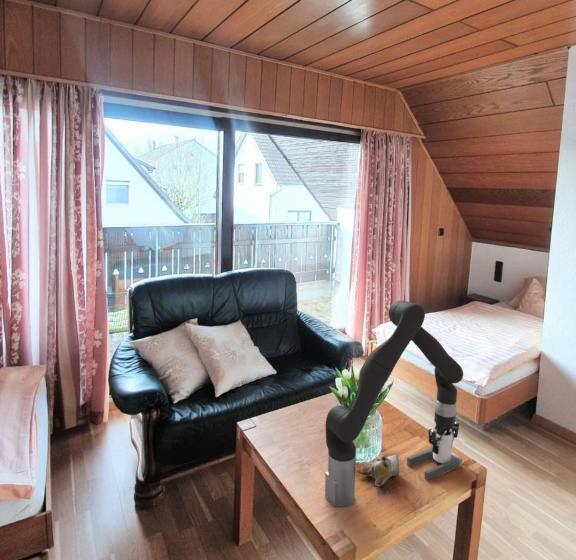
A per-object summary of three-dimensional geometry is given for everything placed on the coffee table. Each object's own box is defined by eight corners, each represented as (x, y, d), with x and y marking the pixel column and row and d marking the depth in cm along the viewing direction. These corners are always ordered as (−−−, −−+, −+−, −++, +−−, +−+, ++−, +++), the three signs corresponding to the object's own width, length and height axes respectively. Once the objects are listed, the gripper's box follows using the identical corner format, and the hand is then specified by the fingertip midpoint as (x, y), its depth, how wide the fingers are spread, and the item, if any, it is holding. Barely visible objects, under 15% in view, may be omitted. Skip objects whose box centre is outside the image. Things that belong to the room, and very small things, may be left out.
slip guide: (426, 480, 158) (427, 473, 157) (406, 464, 167) (407, 457, 166) (461, 465, 166) (462, 458, 165) (440, 451, 175) (441, 444, 174)
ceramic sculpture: (407, 458, 156) (375, 473, 150) (407, 479, 158) (376, 495, 152) (387, 443, 166) (356, 457, 159) (388, 463, 168) (357, 478, 161)
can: (431, 461, 167) (433, 433, 164) (434, 452, 172) (436, 424, 170) (449, 466, 164) (451, 437, 161) (451, 456, 169) (453, 429, 167)
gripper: (439, 420, 157) (436, 461, 161) (466, 411, 164) (463, 450, 167) (424, 411, 164) (421, 450, 167) (451, 402, 170) (447, 440, 174)
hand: (442, 450), depth 167 cm, fingers closed on can, 6 cm apart
